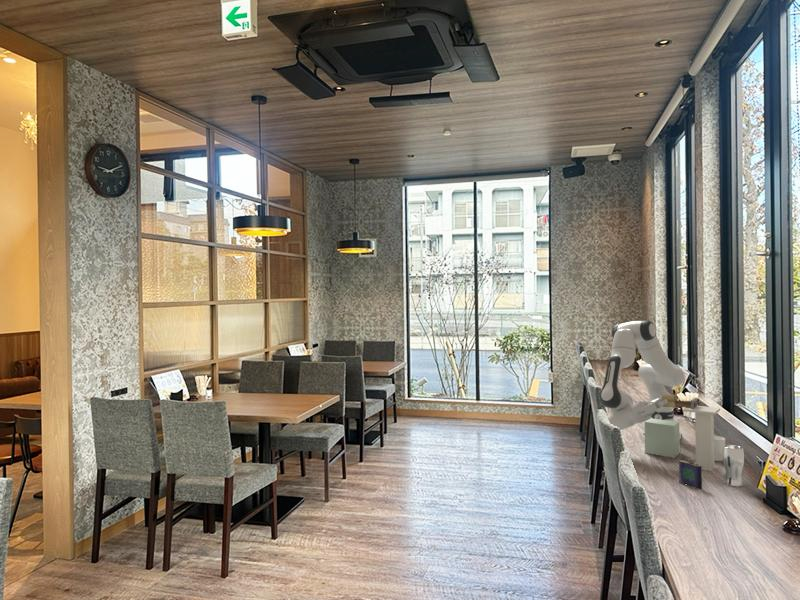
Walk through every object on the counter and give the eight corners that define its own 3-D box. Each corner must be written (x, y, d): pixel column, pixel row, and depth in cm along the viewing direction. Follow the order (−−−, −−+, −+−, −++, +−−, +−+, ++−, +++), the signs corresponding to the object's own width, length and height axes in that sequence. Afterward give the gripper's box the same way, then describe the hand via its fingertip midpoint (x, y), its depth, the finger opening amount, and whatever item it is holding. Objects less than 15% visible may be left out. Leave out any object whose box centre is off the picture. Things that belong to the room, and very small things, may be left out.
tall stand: (690, 461, 239) (689, 396, 239) (720, 467, 231) (720, 399, 231) (684, 468, 230) (683, 400, 230) (715, 473, 222) (714, 403, 222)
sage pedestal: (650, 448, 261) (650, 418, 261) (679, 453, 253) (679, 422, 253) (644, 452, 253) (644, 421, 254) (674, 457, 245) (674, 425, 245)
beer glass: (726, 480, 214) (725, 443, 214) (746, 484, 209) (745, 446, 209) (721, 484, 209) (721, 446, 209) (741, 488, 204) (741, 450, 204)
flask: (677, 482, 212) (677, 456, 212) (682, 481, 213) (682, 455, 213) (699, 489, 204) (699, 462, 204) (704, 488, 205) (704, 461, 205)
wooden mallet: (665, 405, 242) (664, 394, 243) (697, 406, 234) (696, 395, 234) (662, 406, 239) (661, 395, 239) (694, 408, 230) (693, 396, 231)
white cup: (703, 459, 243) (703, 437, 243) (707, 455, 248) (707, 434, 249) (723, 462, 237) (723, 440, 237) (727, 458, 243) (726, 437, 243)
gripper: (631, 408, 240) (659, 396, 232) (644, 401, 255) (671, 390, 248) (639, 421, 238) (667, 409, 230) (651, 414, 253) (678, 402, 246)
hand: (669, 399), depth 239 cm, fingers closed on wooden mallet, 5 cm apart
